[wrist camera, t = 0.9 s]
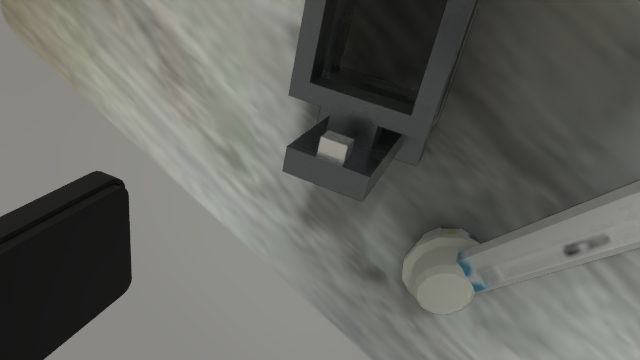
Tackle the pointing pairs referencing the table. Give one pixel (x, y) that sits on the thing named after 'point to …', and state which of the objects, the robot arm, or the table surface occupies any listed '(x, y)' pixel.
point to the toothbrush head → (520, 251)
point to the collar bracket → (365, 101)
